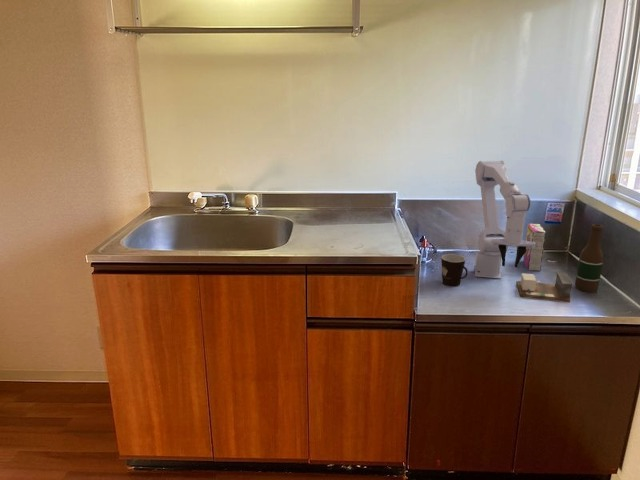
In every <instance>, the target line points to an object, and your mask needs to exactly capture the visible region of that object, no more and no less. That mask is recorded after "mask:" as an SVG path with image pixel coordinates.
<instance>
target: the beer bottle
mask: <svg viewBox="0 0 640 480" xmlns="http://www.w3.org/2000/svg"><path fill="white" fill-rule="evenodd" d="M590 227H591V231H590V235H589V239H588V242H587V245H586V246H585V247H584V248H583V249H582V250H581V252H580V254H579V259H578V265H577V269H576V276H575V282H574V287H575V289H576V290H579V291H581V292H584V293H589V294H590V293H594V292H595V293H596V292H598V291H599V290H598V289H599V286H600V281H601V275H602V272H603V270H602V269H603V264H604V253H603V251H602V249H601V239H602V234H603V233H602V231H603V229H604V227H603V225H602V224H598V223H593V224H592V225H591V226H590Z"/></svg>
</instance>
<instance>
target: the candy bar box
mask: <svg viewBox="0 0 640 480" xmlns="http://www.w3.org/2000/svg"><path fill="white" fill-rule="evenodd" d="M526 227H527V229H526V237H525V241H530V242H535V249H532V248H526V253H525V254H524V255H523V259H522V261H523V262H524V264H525V266H526V268H527V270H528V271H532V272H533V271H535V272H541V270H542V264H543V263H542V262H543V256H544V248H545V241H546V231H545V229H544V227H543V226H542V225H541V224H539V223H527V226H526Z"/></svg>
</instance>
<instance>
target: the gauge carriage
mask: <svg viewBox="0 0 640 480" xmlns="http://www.w3.org/2000/svg"><path fill="white" fill-rule="evenodd" d="M520 277H521V278H520V281H521V287H522V290H527V291H528V292H529V293H530V294H531V292H530V291H535V286H536V285H541V283H542V281H541V280H537V279H536V276H535V274H534V273H533V274H532V273H523V272H522V273H521V276H520Z"/></svg>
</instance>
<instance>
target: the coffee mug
mask: <svg viewBox="0 0 640 480" xmlns="http://www.w3.org/2000/svg"><path fill="white" fill-rule="evenodd" d="M440 258H441V259H440V261H441V280H442V281H441V284H442V285H445V286H447V287H460V285H461V282H462V281H461V280H463V279H465V278H467V276H468V269H467V268H466V267H465V264H466V257H465V256H463V255H459V254H456V253H455V254H454V253H447V254H446V253H445V254H442V255H441V257H440ZM464 270H465V274H464V273H463V272H464ZM463 274H464V276H463Z"/></svg>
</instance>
